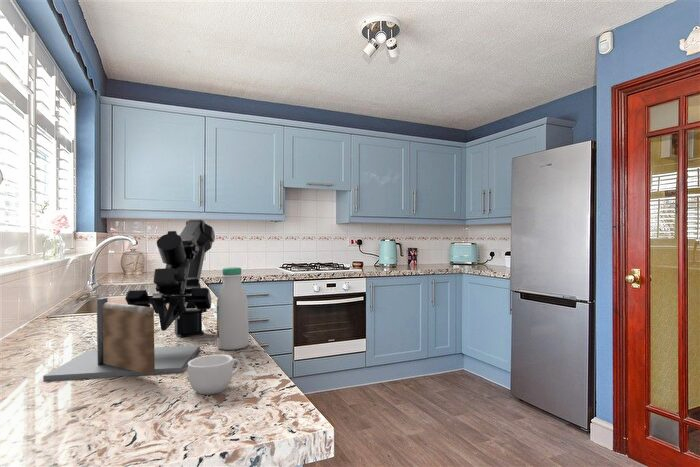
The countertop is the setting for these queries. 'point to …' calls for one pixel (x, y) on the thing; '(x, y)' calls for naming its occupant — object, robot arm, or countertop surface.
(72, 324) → the countertop surface
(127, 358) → the panel
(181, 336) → the robot arm
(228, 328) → the milk bottle
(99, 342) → the hinge post
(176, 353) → the board
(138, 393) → the countertop surface
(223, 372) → the teacup
